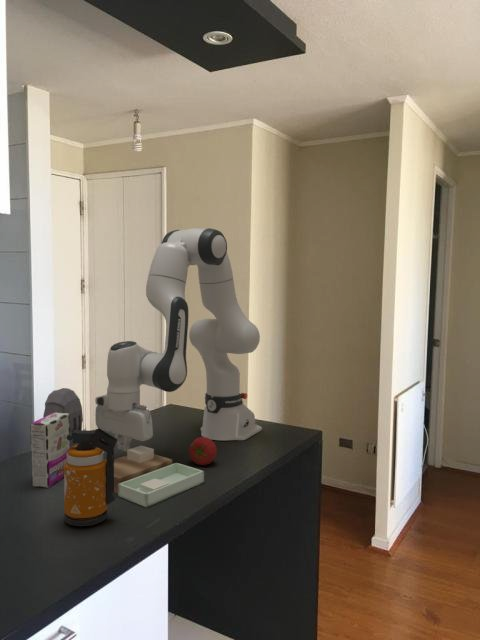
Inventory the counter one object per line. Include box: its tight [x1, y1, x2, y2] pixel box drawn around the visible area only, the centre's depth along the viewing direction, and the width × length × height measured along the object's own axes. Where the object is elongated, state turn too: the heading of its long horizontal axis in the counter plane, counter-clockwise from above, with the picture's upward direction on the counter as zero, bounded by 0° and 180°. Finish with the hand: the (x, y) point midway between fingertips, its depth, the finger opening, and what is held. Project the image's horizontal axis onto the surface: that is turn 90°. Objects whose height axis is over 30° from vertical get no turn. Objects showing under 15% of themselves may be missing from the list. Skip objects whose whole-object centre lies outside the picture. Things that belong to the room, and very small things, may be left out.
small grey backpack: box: [42, 387, 84, 448], centre depth 161 cm, size 15×8×20 cm, turn 170°
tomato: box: [188, 436, 218, 466], centre depth 155 cm, size 8×8×8 cm
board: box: [114, 453, 173, 495], centre depth 143 cm, size 18×12×4 cm, turn 142°
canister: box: [63, 428, 118, 527], centre depth 118 cm, size 9×11×20 cm
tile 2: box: [126, 445, 155, 463], centre depth 147 cm, size 5×5×2 cm
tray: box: [117, 462, 205, 508], centre depth 137 cm, size 20×10×3 cm, turn 142°
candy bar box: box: [29, 413, 70, 489], centre depth 141 cm, size 11×5×16 cm, turn 168°
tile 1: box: [140, 479, 169, 493], centre depth 132 cm, size 5×5×2 cm
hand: (123, 450), depth 151 cm, fingers closed
